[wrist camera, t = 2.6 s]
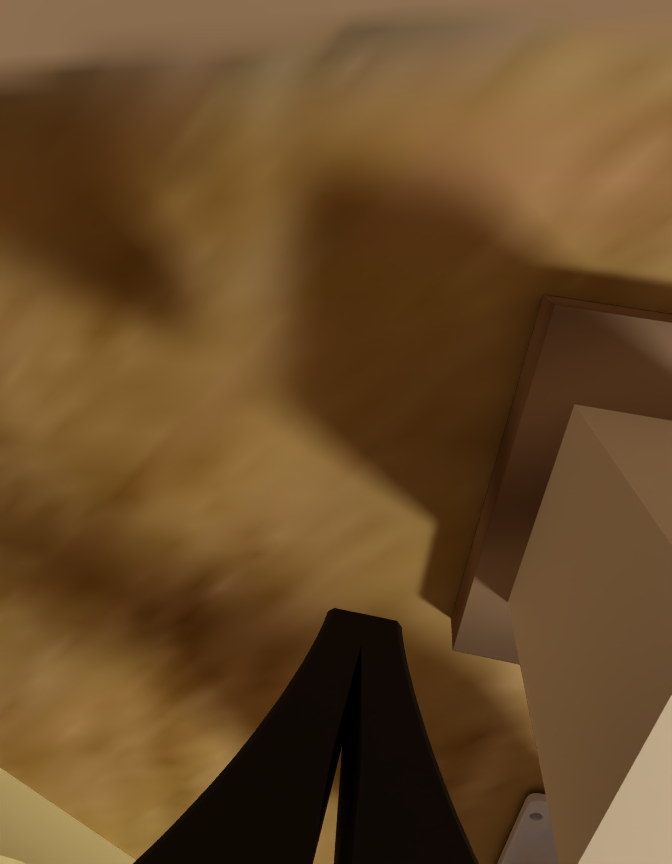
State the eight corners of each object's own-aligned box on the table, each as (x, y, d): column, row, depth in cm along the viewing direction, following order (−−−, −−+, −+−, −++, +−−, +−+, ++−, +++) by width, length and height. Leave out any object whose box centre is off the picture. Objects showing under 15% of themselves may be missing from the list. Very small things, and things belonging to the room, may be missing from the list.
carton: (650, 631, 17) (812, 949, 10) (507, 602, 18) (564, 888, 10) (748, 433, 14) (1077, 682, 7) (574, 404, 15) (718, 611, 7)
